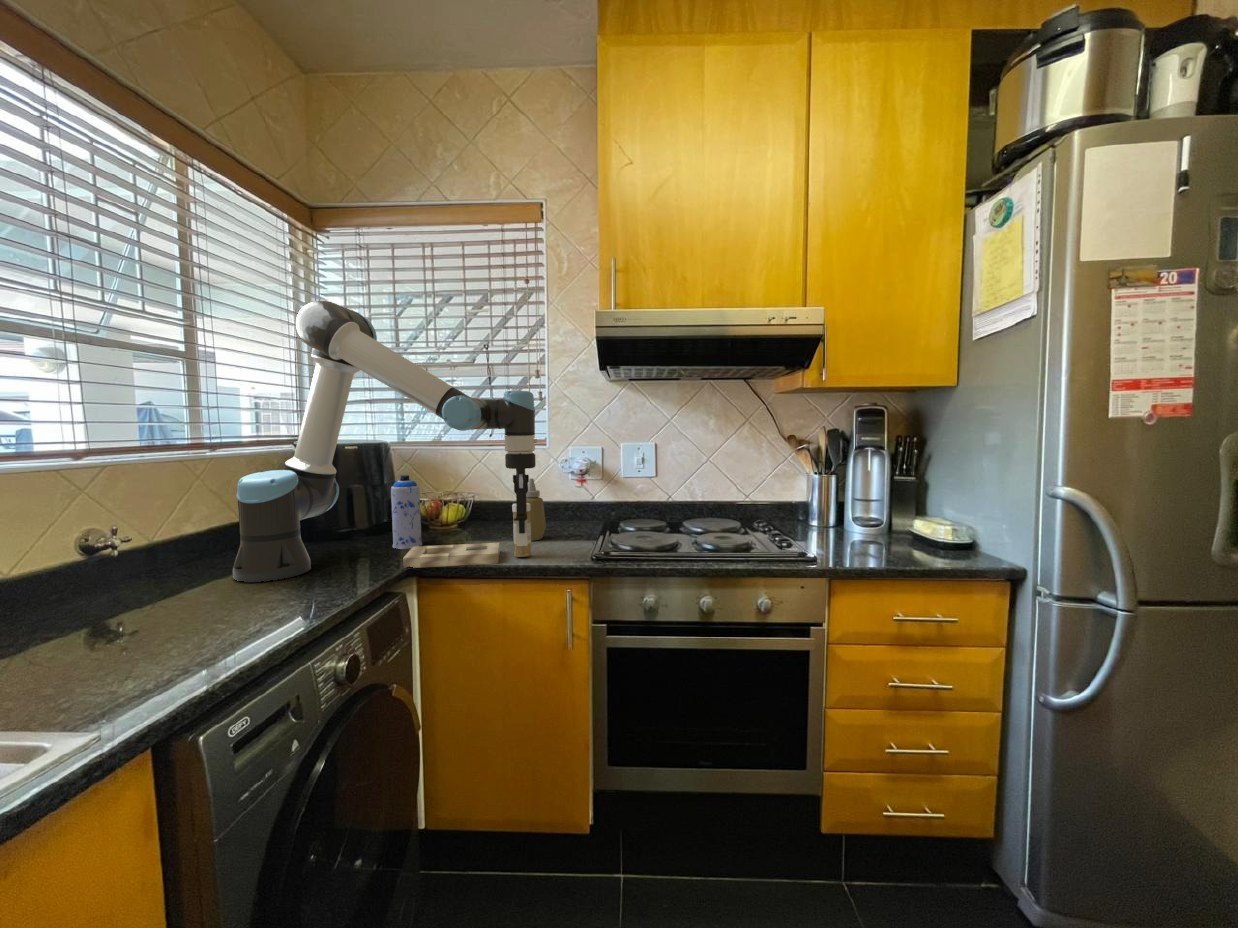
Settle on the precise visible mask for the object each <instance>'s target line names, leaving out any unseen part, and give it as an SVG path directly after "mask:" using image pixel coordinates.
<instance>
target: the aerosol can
mask: <svg viewBox="0 0 1238 928" xmlns="http://www.w3.org/2000/svg"><path fill="white" fill-rule="evenodd" d="M419 486H420V485H418V484H417V482H415V481H414V480H412V479H410V475H409V474H407V475H405V474H403V475H400V480H397V481H396V482H394V483H393V485H392V486H391V487H390V498H391V499H390V501H391V518H392V519H391V520H392V521H391V522H392V523H391V524H392V525H391V526H392V543H393V544H392V548H393V549H395V548H396V549H397V550H407V549H409V550H410V549H411V548H412V547H417V546H423V542H422V524H421V523H422V521H421V519H422V517H421V496H420V493H421V492H420V487H419Z"/></svg>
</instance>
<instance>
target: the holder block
mask: <svg viewBox="0 0 1238 928" xmlns="http://www.w3.org/2000/svg"><path fill="white" fill-rule="evenodd" d="M500 545H501V542H482V543H463V544H460V543H459V544H441V545H421V546H417V547H412V548H410V549H409V551H407V553H406V554H405V555H404V556H403V559H402V561H403V562H402V563H403V566H410V567H413V568H412V569H416V568H421V569H422V568H436V567H437V568H439V567H453V566H456V567H457V566H473V565H474V566H475V565H490V564H491V565H494V564H498V563H499V559H500V553H501V552H500V551H501V547H500Z"/></svg>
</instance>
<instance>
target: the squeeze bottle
mask: <svg viewBox="0 0 1238 928" xmlns="http://www.w3.org/2000/svg"><path fill="white" fill-rule="evenodd" d="M534 479H535V478H529V482H528V492H527V493H526V503H530V523H531V542H533V541H534V542H535V541H538V540H539V541H540V540H542V539H543V537H544V535H545V531H546V528H547V521H546V516H545V515H546V513H545V507H544V506H545V505H544V499H543V498H542V497H540V490H537V488H536V483H535V480H534Z"/></svg>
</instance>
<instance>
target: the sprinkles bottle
mask: <svg viewBox="0 0 1238 928" xmlns="http://www.w3.org/2000/svg"><path fill="white" fill-rule="evenodd" d="M526 507H527V537H528V546H517V535H516V521H514V518H516V516H517V507H516V502H515V503H512V505H511V508H512V509H511V510H512V517H513V520H512V521H513V524H512V528H513V530H512V531H513V532H512V533H513V534H512V535H513V545H514V546H513V555H514V556H515V557H519V558H525V557H530V556H531V555H532V544H531V543H532V541H531V523H530V503H526Z"/></svg>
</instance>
